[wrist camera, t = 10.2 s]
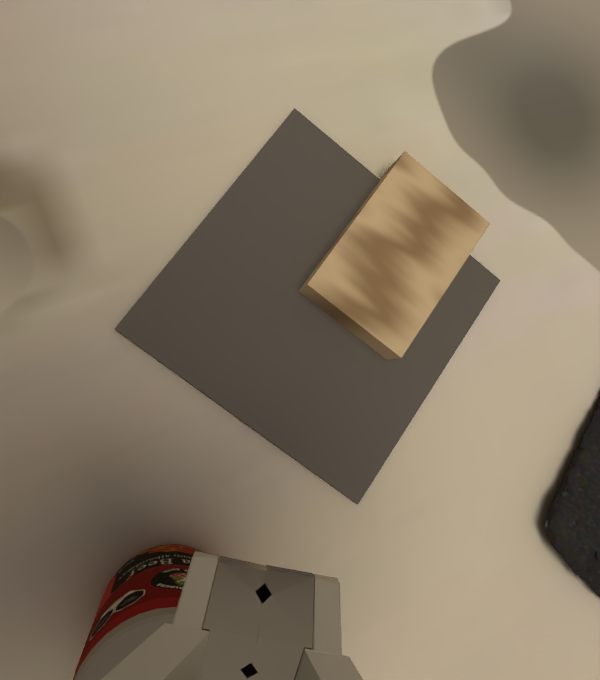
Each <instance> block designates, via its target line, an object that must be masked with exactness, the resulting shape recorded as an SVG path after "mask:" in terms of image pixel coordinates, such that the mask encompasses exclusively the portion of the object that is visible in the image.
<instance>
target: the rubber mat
mask: <svg viewBox="0 0 600 680" xmlns="http://www.w3.org/2000/svg"><path fill="white" fill-rule="evenodd" d="M379 181H380V179H379V178H377V177H376V176H375V175H374V174H373V173H371V172H370V171H369V170H368V169H367V168H365V167H364V166H363V165H362V164H361V163H359V162H358V161H357V160H356V159H355V158H353V157H352V156H351V155H350V154H349V153H347V152H346V151H345V150H344V149H343V148H341V147H340V146H339V145H338V144H337V143H335V142H334V141H333V140H332V139H331V138H330V137H328V136H327V135H326V134H325V133H324V132H322V131H321V130H320V129H319V128H318V127H316V126H315V125H314V124H313V123H312V122H310V121H309V120H308V119H307V118H306V117H304V116H303V115H302V114H301V113H300V112H298V111H297V110H296V109H294V110H293V111H292V112H291V114H290V115H289V116H288V117H287V118H286V120H285V121H284V122H283V123H282V125H281V126H280V127H279V128H278V130H277V131H276V132H275V133H274V134H273V136H272V137H271V138H270V139H269V141H268V142H267V143H266V144H265V145H264V147H263V148H262V149H261V150H260V152H259V153H258V154H257V155H256V156H255V158H254V159H253V160H252V161H251V163H250V164H249V165H248V166H247V168H246V169H245V170H244V171H243V172H242V174H241V175H240V176H239V177H238V179H237V180H236V181H235V182H234V183H233V185H232V186H231V187H230V188H229V190H228V191H227V192H226V193H225V194H224V196H223V197H222V198H221V199H220V201H219V202H218V203H217V204H216V205H215V207H214V208H213V209H212V210H211V212H210V213H209V214H208V215H207V217H206V218H205V219H204V220H203V221H202V223H201V224H200V225H199V226H198V228H197V229H196V230H195V231H194V232H193V234H192V235H191V236H190V237H189V239H188V240H187V241H186V242H185V243H184V245H183V246H182V247H181V248H180V250H179V251H178V252H177V253H176V254H175V256H174V257H173V258H172V259H171V261H170V262H169V263H168V264H167V266H166V267H165V268H164V269H163V270H162V272H161V273H160V274H159V275H158V277H157V278H156V279H155V280H154V281H153V283H152V284H151V285H150V286H149V288H148V289H147V290H146V291H145V292H144V294H143V295H142V296H141V297H140V299H139V300H138V301H137V302H136V304H135V305H134V306H133V307H132V308H131V310H130V311H129V312H128V313H127V315H126V316H125V317H124V318H123V319H122V321H121V322H120V323H119V324H118V326H117V327H116V328H115V330H117V331H118V332H119V333H121V334H122V335H124V336H125V337H126V338H128V339H129V340H131V341H132V342H133V343H135V344H136V345H137V346H139V347H140V348H142V349H143V350H144V351H146V352H147V353H149V354H150V355H151V356H153V357H154V358H155V359H157V360H158V361H160V362H161V363H162V364H164V365H165V366H167V367H168V368H169V369H171V370H172V371H173V372H175V373H176V374H178V375H179V376H180V377H182V378H183V379H185V380H186V381H187V382H189V383H190V384H191V385H193V386H194V387H196V388H197V389H198V390H200V391H201V392H203V393H204V394H205V395H207V396H208V397H209V398H211V399H212V400H214V401H215V402H216V403H218V404H219V405H221V406H222V407H223V408H225V409H226V410H227V411H229V412H230V413H232V414H233V415H234V416H236V417H237V418H239V419H240V420H241V421H243V422H244V423H245V424H247V425H248V426H250V427H251V428H252V429H254V430H255V431H257V432H258V433H259V434H261V435H262V436H263V437H265V438H266V439H268V440H269V441H270V442H272V443H273V444H275V445H276V446H277V447H279V448H280V449H282V450H283V451H284V452H286V453H287V454H288V455H290V456H291V457H293V458H294V459H295V460H297V461H298V462H300V463H301V464H302V465H304V466H305V467H306V468H308V469H309V470H311V471H312V472H313V473H315V474H316V475H318V476H319V477H320V478H322V479H323V480H324V481H326V482H327V483H329V484H330V485H331V486H333V487H334V488H336V489H337V490H338V491H340V492H341V493H342V494H344V495H345V496H347V497H348V498H349V499H351V500H352V501H354V502H355V503H356V504H358V503H359V502H360V500H361V499H362V497H363V496H364V494H365V492H366V491H367V489H368V488H369V486H370V485H371V483H372V481H373V480H374V478H375V477H376V475H377V474H378V472H379V470H380V469H381V467H382V466H383V464H384V463H385V461H386V459H387V458H388V456H389V455H390V453H391V452H392V450H393V448H394V447H395V445H396V444H397V442H398V441H399V439H400V437H401V436H402V434H403V433H404V431H405V429H406V428H407V426H408V425H409V423H410V422H411V420H412V418H413V417H414V415H415V414H416V412H417V411H418V409H419V407H420V406H421V404H422V403H423V401H424V400H425V398H426V396H427V395H428V393H429V392H430V390H431V389H432V387H433V385H434V384H435V382H436V381H437V379H438V378H439V376H440V374H441V373H442V371H443V370H444V368H445V367H446V365H447V363H448V362H449V360H450V359H451V357H452V356H453V354H454V352H455V351H456V349H457V348H458V346H459V345H460V343H461V341H462V340H463V338H464V337H465V335H466V334H467V332H468V330H469V329H470V327H471V326H472V324H473V323H474V321H475V319H476V318H477V316H478V315H479V313H480V312H481V310H482V308H483V307H484V305H485V304H486V302H487V301H488V299H489V297H490V296H491V294H492V293H493V291H494V290H495V288H496V286H497V285H498V283H499V282H500V280H499V279H498V278H497V277H496V276H495V275H493V274H492V273H491V272H490V271H489V270H487V269H486V268H485V267H484V266H483V265H481V264H480V263H479V262H478V261H477V260H475V259H474V258H473V257H472V256H471V255H469V256H468V258H467V259H466V261H465V262H464V264H463V265H462V267H461V269H460V270H459V272H458V273H457V275H456V276H455V278H454V279H453V281H452V282H451V284H450V285H449V287H448V288H447V290H446V291H445V293H444V294H443V296H442V297H441V299H440V300H439V302H438V303H437V305H436V306H435V308H434V309H433V311H432V312H431V314H430V315H429V317H428V318H427V320H426V321H425V323H424V325H423V326H422V328H421V329H420V331H419V332H418V334H417V335H416V337H415V338H414V340H413V341H412V343H411V344H410V346H409V347H408V349H407V350H406V352H405V353H404V355H403V356H402V358H397V359H389V360H386V359H385V358H384V357H383V356H381V355H380V354H379V353H377V352H376V351H375V350H374V349H372V348H371V347H370V346H368V345H367V344H366V343H365V342H363V341H362V340H361V339H359V338H358V337H357V336H356V335H354V334H353V333H352V332H350V331H349V330H348V329H347V328H345V327H344V326H343V325H341V324H340V323H339V322H338V321H336V320H335V319H334V318H332V317H331V316H330V315H328V314H327V313H326V312H325V311H323V310H322V309H321V308H319V307H318V306H317V305H316V304H314V303H313V302H312V301H310V300H309V299H308V298H307V297H305V296H304V295H303V294H301V293H300V292H299V290H300V289H301V287H302V286H303V284H304V283H305V282H306V280H307V279H308V278H309V276H310V275H311V274H312V272H313V271H314V270H315V268H316V267H317V265H318V264H319V263H320V261H321V260H322V259H323V257H324V256H325V255H326V253H327V252H328V251H329V249H330V248H331V246H332V245H333V244H334V242H335V241H336V240H337V238H338V237H339V236H340V234H341V233H342V232H343V230H344V229H345V227H346V226H347V225H348V223H349V222H350V221H351V219H352V218H353V217H354V215H355V214H356V213H357V211H358V210H359V208H360V207H361V206H362V204H363V203H364V202H365V200H366V199H367V198H368V196H369V195H370V194H371V192H372V191H373V189H374V188H375V187H376V185H377V184H378V183H379Z"/></svg>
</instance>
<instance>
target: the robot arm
mask: <svg viewBox="0 0 600 680" xmlns="http://www.w3.org/2000/svg"><path fill="white" fill-rule="evenodd" d="M101 680H363V679H362V677H361V676H360V674H359V672H358V671H357V669H356V667H355V666H354V664H353V663H352V661H351V659H350V658H349V657H347V656H343V655H342V648H341V615H340V583H339V581H338V578H333V577H327V576H322V575H317V574H314V575H313V573H308V572H302V571H296V570H291V569H285V568H279V567H274V566H268V565H266V566H264V565H259V564H255V563H250V562H246V561H241V560H236V559H232V558H227V557H223V556H220V557H219V556H217V555H212V554H207V553H202V552H197V551H195V553H194V555H193V557H192V559H191V563H190V566H189V569H188V573H187V576H186V579H185V583H184V586H183V589H182V593H181V596H180V599H179V603H178V606H177V609H176V613H175V616H174V620H173V623H172V624H168V623H164V624H163V625H162V626H161V627H160V628H158V629H157V630H156V631H155V632H154V633H153V634H152V635H151V636H149V637H148V638H147V639H146V640H145V641H144V642H143V643H142V644H140V645H139V646H138V647H137V648H136V649H135V650H134V651H132V652H131V653H130V654H129V655H128V656H127V657H126V658H125V659H123V660H122V661H121V662H120V663H119V664H118V665H117V666H116V667H114V668H113V669H112V670H111V671H110V672H109V673H108V674H107V675H105V676H104V677H103V678H102V679H101Z"/></svg>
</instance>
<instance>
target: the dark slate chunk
mask: <svg viewBox="0 0 600 680" xmlns="http://www.w3.org/2000/svg"><path fill="white" fill-rule="evenodd" d="M545 533H546V535H547V537H548V538H549V540H550V541H551V543H552V545H553V546H554V547H555V549H556V550H557V551H558V552H559V553H560V554H562V555H563V557H564V558H565V559H566V560H567V562H568V563H569V564H570V565H571V566H572V568H573V570H574V572H575V574H577V575H579V576H580V578H581V579H583V580H584V581H586V582H587V583H588V584H590V585H591V587H592V588H593V590H594V591H595V593H596V594H597V595H598V596H599V597H600V397H599V399H598V402H597V407H596V410H595V412H594V417H593V419H592V421H591V423H590V425H589V427H588V429H587V430H586V432H585V433H584V434H583V436H582V438H581V444H580V445H579V446H578V447H577V451H576V452H575V454H574V456H573V460H572V461H571V465H570V466H569V468H568V471H567V473H566V474H565V476H564V477H563V480H562V484H561V487H560V491H559V492H558V494H557V495H556V497H555V499H554V501H553V502H552V505H551V507H550V510H549V513H548V516H547V519H546V521H545Z"/></svg>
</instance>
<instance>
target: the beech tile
mask: <svg viewBox="0 0 600 680" xmlns="http://www.w3.org/2000/svg"><path fill="white" fill-rule="evenodd" d="M489 225H490V223H489V222H488V221H486V220H485V219H484V218H483V217H482V216H481V215H479V214H478V213H477V212H476V211H475V210H474V209H472V208H471V207H470V206H469V205H468V204H467V203H465V202H464V201H463V200H462V199H461V198H460V197H458V196H457V195H456V194H455V193H454V192H452V191H451V190H450V189H449V188H448V187H447V186H445V185H444V184H443V183H442V182H441V181H440V180H438V179H437V178H436V177H435V176H434V175H433V174H431V173H430V172H429V171H428V170H427V169H426V168H424V167H423V166H422V165H421V164H420V163H418V162H417V161H416V160H415V159H414V158H413V157H411V156H410V155H409V154H408V153H407V152H406V151H405V152H404V153H403V154H402V155H401V156H400V157H399V158H398V159H397V160H396V161H395V162H394V163H393V164H392V165H391V166H390V168H389V169H388V170H387V172H386V173H385V175H384V176H383V177H382V179H381V180H380V181H379V183H378V184H377V185H376V187H375V188H374V189H373V191H372V192H371V194H370V195H369V196H368V198H367V199H366V200H365V202H364V203H363V204H362V206H361V207H360V208H359V210H358V211H357V213H356V214H355V215H354V217H353V218H352V219H351V221H350V222H349V223H348V225H347V226H346V227H345V229H344V230H343V232H342V233H341V234H340V236H339V237H338V238H337V240H336V241H335V242H334V244H333V245H332V246H331V248H330V249H329V251H328V252H327V253H326V255H325V256H324V257H323V259H322V260H321V261H320V263H319V264H318V265H317V267H316V268H315V270H314V271H313V272H312V274H311V275H310V276H309V278H308V279H307V280H306V282H305V283H304V284H303V286H302V287H301V289H300V290H299V292H300V293H301V294H303V295H304V296H305V297H307V298H308V299H309V300H310V301H312V302H313V303H314V304H316V305H317V306H318V307H319V308H321V309H322V310H323V311H325V312H326V313H327V314H328V315H330V316H331V317H332V318H334V319H335V320H336V321H338V322H339V323H340V324H341V325H343V326H344V327H345V328H347V329H348V330H349V331H350V332H352V333H353V334H354V335H356V336H357V337H358V338H359V339H361V340H362V341H363V342H365V343H366V344H367V345H368V346H370V347H371V348H372V349H374V350H375V351H376V352H377V353H379V354H380V355H381V356H383V357H384V358H385V359H386V360H389V359H397V358H402V356H403V355H404V353H405V352H406V350H407V349H408V347H409V346H410V344H411V343H412V341H413V340H414V338H415V337H416V335H417V334H418V332H419V331H420V329H421V328H422V326H423V325H424V323H425V321H426V320H427V318H428V317H429V315H430V314H431V312H432V311H433V309H434V308H435V306H436V305H437V303H438V302H439V300H440V299H441V297H442V296H443V294H444V293H445V291H446V290H447V288H448V287H449V285H450V284H451V282H452V281H453V279H454V278H455V276H456V275H457V273H458V272H459V270H460V269H461V267H462V265H463V264H464V262H465V261H466V259H467V258H468V256H469V255H470V253H471V252H472V250H473V249H474V247H475V246H476V244H477V243H478V241H479V240H480V238H481V237H482V235H483V234H484V232H485V231H486V229H487V228H488V226H489Z"/></svg>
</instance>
